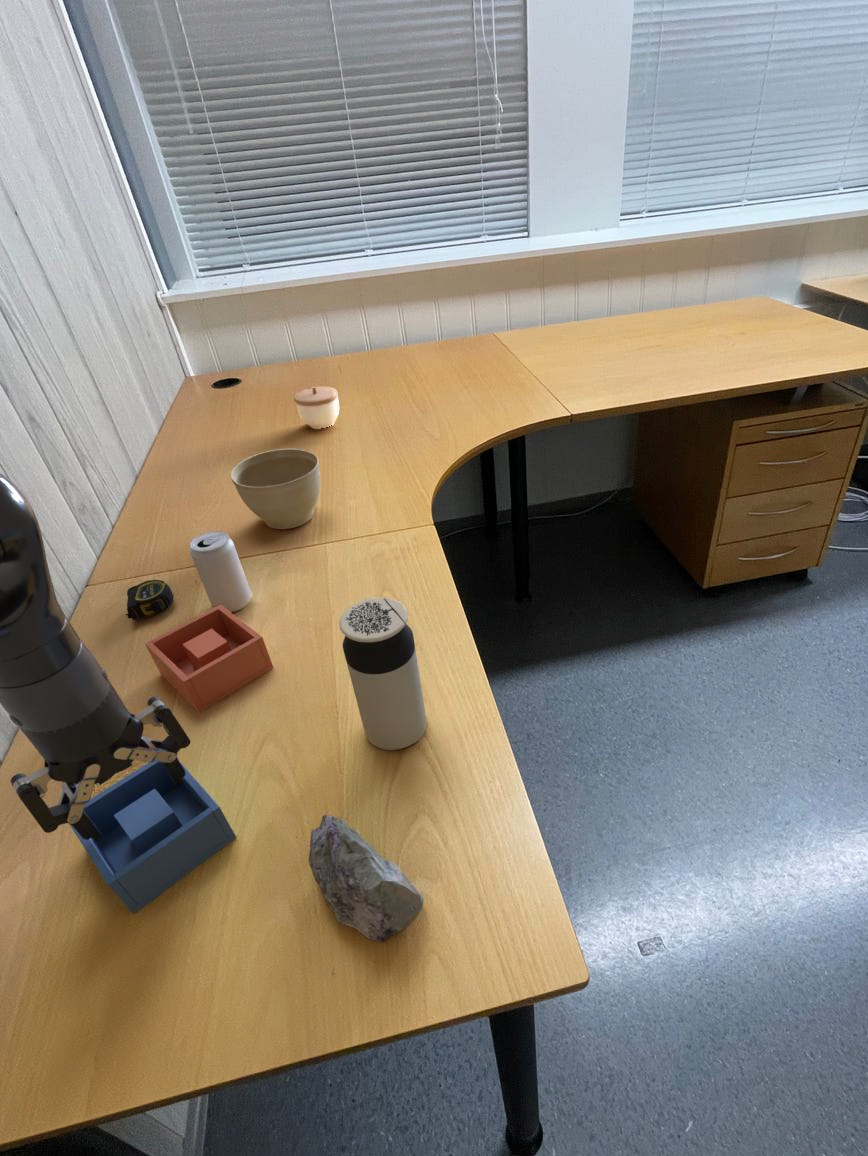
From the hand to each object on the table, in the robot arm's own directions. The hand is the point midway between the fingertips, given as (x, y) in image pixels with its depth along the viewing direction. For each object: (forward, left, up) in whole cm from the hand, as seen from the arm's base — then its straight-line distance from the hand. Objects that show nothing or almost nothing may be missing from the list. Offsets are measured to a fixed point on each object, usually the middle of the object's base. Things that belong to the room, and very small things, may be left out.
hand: (137, 806), depth 64 cm
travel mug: (+28, -7, -7) cm, 30 cm away
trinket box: (+83, +86, -7) cm, 120 cm away
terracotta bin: (+18, +21, -7) cm, 28 cm away
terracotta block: (+18, +21, -6) cm, 28 cm away
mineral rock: (+12, -21, -7) cm, 25 cm away
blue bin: (0, 0, -7) cm, 7 cm away
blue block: (0, 0, -6) cm, 6 cm away
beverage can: (+28, +34, -7) cm, 45 cm away
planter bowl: (+50, +51, -7) cm, 72 cm away
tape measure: (+18, +43, -7) cm, 47 cm away
